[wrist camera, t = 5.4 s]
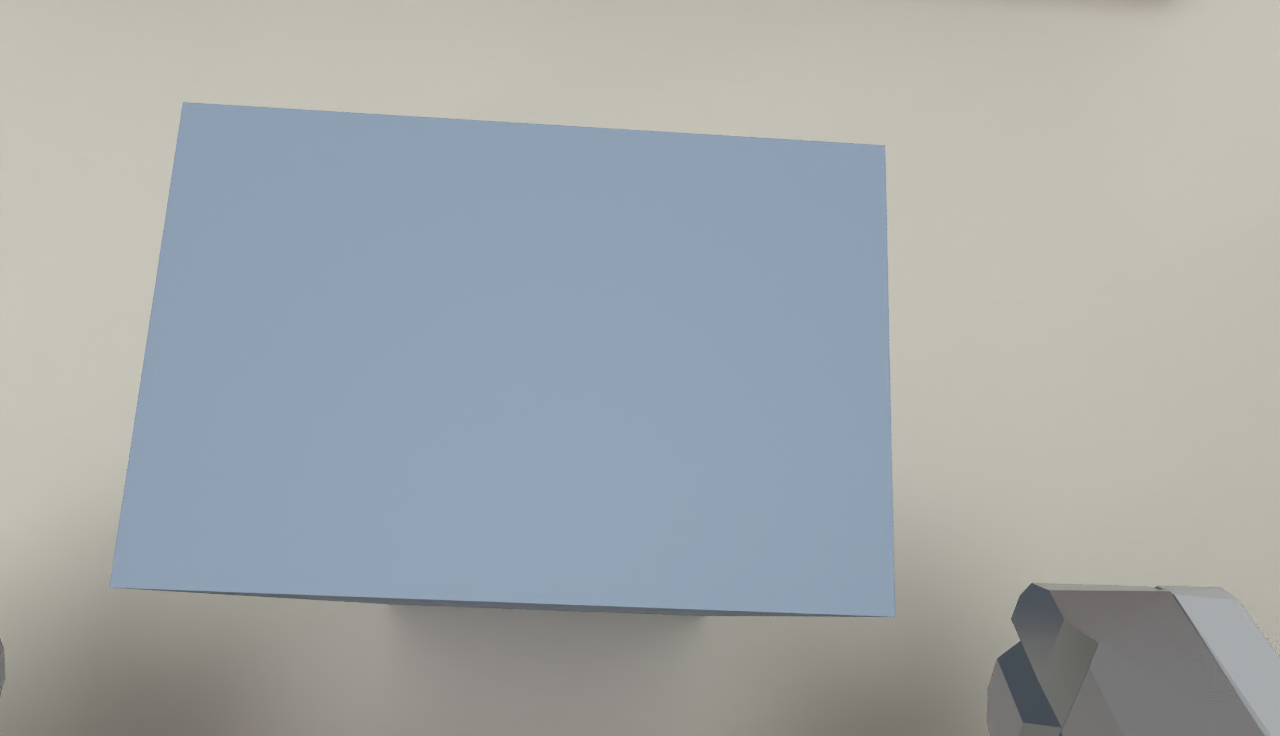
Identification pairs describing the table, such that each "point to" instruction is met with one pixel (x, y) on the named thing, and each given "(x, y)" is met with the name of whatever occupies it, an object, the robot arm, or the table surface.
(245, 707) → the table surface
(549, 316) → the grey post
